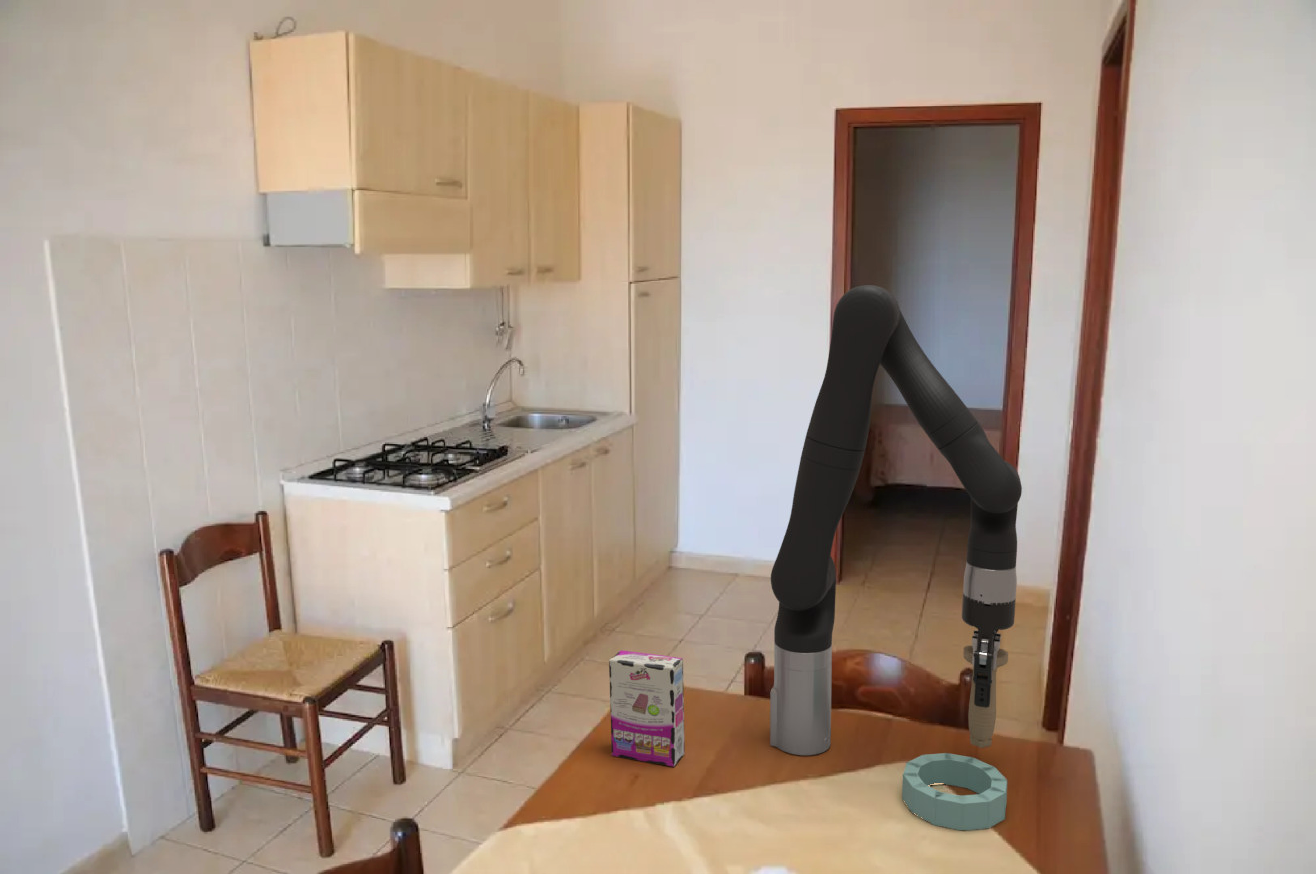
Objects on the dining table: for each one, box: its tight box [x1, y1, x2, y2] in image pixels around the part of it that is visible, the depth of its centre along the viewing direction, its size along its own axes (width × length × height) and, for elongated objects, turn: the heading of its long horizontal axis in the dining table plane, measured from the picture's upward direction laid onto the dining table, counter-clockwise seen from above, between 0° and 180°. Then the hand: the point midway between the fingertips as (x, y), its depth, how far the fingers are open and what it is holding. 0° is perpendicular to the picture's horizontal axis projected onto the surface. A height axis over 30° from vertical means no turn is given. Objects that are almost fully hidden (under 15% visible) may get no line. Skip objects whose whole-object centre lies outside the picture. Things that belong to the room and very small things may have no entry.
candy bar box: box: [608, 649, 686, 767], centre depth 151 cm, size 11×5×16 cm, turn 68°
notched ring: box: [901, 752, 1008, 831], centre depth 137 cm, size 14×14×4 cm
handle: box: [963, 645, 1009, 749], centre depth 145 cm, size 5×6×15 cm
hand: (982, 700), depth 145 cm, fingers closed on handle, 3 cm apart
